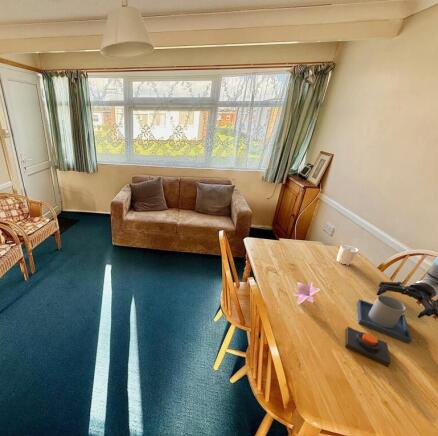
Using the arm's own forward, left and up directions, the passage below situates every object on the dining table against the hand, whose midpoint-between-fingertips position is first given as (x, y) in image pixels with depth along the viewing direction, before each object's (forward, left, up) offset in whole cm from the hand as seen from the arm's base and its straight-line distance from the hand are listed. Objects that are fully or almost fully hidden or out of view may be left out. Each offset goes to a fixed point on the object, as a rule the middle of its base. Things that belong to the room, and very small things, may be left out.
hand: (398, 303), depth 97 cm
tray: (+3, +5, -8) cm, 10 cm away
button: (+9, +25, -5) cm, 27 cm away
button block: (+9, +25, -8) cm, 28 cm away
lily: (+31, +11, -8) cm, 34 cm away
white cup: (+16, -40, -8) cm, 44 cm away
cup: (+3, +5, -8) cm, 10 cm away
